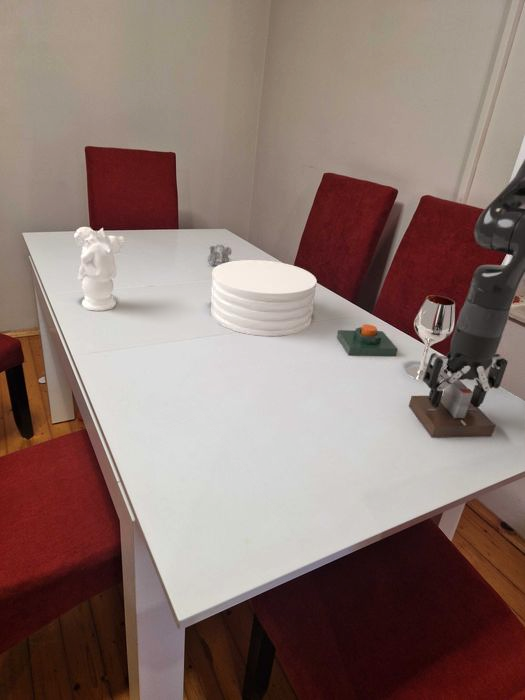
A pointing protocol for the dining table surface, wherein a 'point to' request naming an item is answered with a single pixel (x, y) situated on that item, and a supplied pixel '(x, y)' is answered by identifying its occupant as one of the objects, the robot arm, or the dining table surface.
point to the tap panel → (450, 420)
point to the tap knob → (457, 399)
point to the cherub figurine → (97, 267)
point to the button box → (366, 343)
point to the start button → (368, 330)
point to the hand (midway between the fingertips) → (453, 405)
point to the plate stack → (262, 297)
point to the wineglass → (432, 327)
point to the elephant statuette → (219, 254)
